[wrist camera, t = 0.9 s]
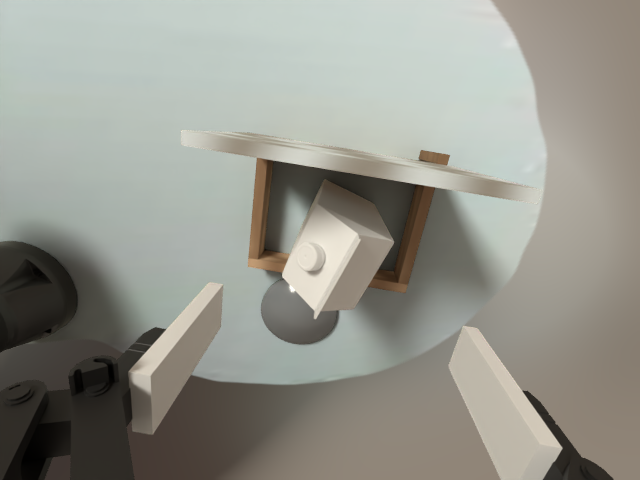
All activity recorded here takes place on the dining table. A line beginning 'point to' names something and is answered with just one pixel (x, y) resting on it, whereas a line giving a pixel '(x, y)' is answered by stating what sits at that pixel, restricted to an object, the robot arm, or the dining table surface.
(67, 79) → the dining table surface
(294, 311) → the disc
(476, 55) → the dining table surface
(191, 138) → the cold frame
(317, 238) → the milk carton
